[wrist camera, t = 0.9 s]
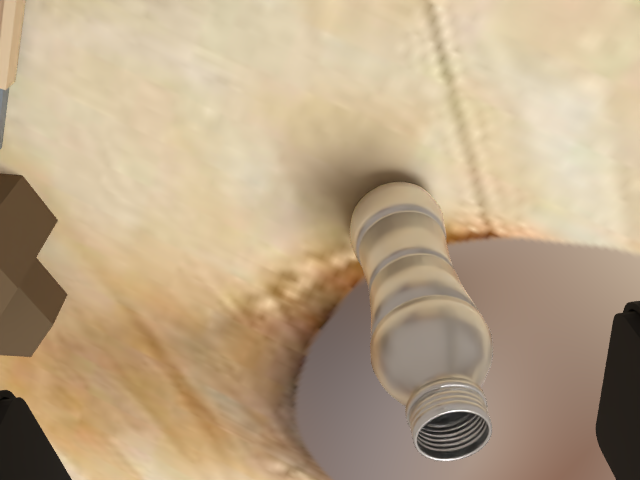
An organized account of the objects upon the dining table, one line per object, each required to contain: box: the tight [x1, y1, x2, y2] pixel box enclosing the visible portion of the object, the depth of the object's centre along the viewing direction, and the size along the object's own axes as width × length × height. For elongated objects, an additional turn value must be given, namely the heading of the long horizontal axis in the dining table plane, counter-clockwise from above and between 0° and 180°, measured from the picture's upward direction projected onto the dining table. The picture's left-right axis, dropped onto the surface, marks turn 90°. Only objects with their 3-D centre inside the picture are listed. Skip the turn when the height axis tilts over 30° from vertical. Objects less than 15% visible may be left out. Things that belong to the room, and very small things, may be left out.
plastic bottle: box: [350, 182, 493, 461], centre depth 36 cm, size 6×7×20 cm
